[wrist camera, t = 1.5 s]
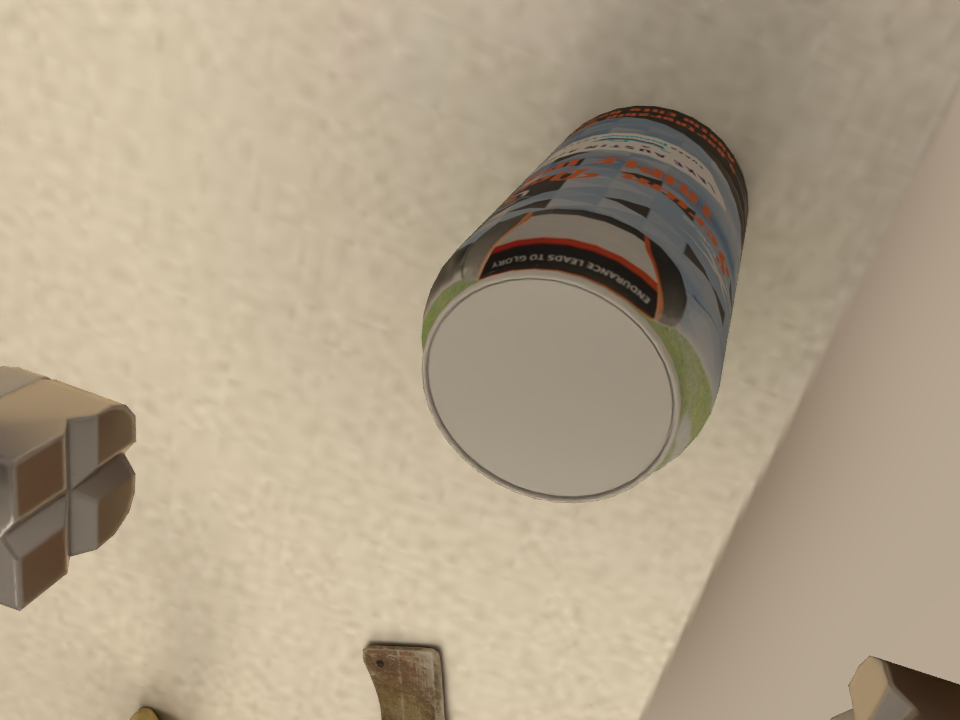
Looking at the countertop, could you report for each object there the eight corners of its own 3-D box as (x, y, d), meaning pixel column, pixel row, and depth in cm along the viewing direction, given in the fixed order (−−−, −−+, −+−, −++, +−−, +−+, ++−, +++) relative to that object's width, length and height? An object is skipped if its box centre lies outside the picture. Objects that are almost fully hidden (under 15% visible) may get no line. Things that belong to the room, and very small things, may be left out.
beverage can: (780, 137, 23) (837, 222, 12) (686, 362, 26) (662, 591, 15) (571, 73, 23) (447, 98, 13) (505, 298, 27) (359, 470, 16)
